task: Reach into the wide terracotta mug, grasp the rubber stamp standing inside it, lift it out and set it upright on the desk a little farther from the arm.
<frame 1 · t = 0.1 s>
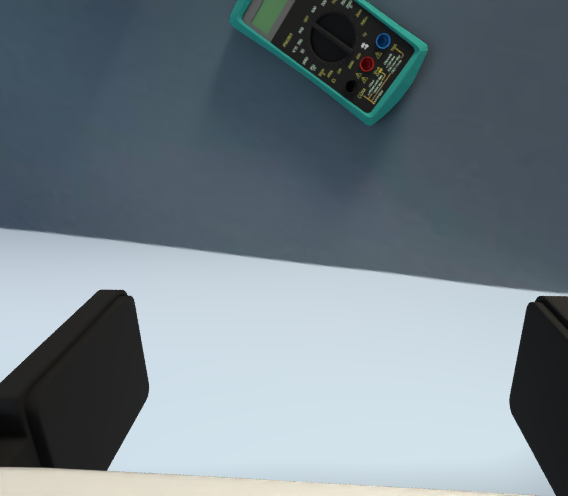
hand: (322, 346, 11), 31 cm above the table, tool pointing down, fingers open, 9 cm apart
digital multimeter: (327, 37, 36), on the table
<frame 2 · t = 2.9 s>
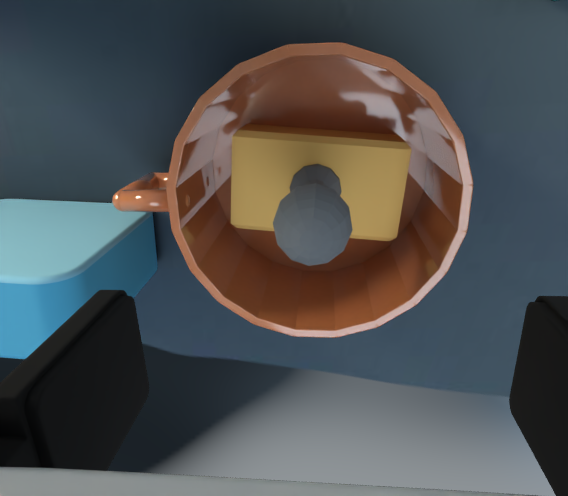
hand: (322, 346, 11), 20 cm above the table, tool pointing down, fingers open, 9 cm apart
terracotta mug: (317, 173, 29), on the table, touching rubber stamp
rubber stamp: (317, 174, 29), resting on terracotta mug
data package: (82, 229, 32), on the table
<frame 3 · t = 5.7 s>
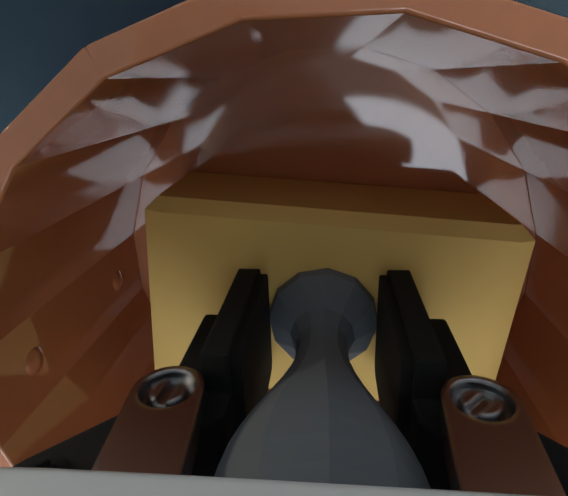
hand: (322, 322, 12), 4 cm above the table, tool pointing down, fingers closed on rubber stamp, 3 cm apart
terracotta mug: (325, 258, 16), on the table, touching rubber stamp
rubber stamp: (325, 259, 16), resting on terracotta mug, touching gripper
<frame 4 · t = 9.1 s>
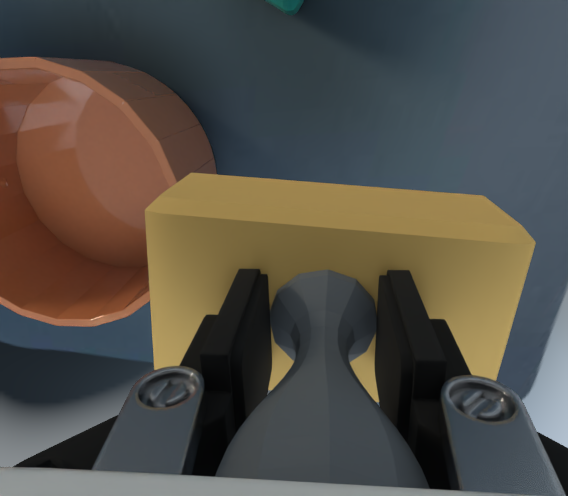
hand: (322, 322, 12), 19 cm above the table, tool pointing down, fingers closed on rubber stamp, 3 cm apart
terracotta mug: (114, 175, 31), on the table
rubber stamp: (325, 260, 16), point 15 cm above the table, touching gripper
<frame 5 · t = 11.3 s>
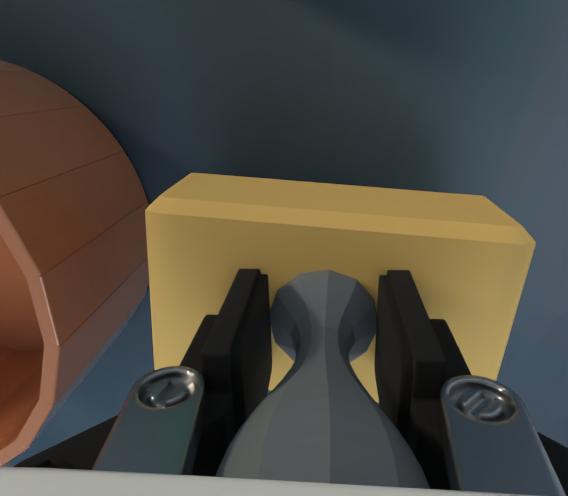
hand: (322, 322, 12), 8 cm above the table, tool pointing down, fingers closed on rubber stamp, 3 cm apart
terracotta mug: (3, 224, 21), on the table
rubber stamp: (325, 260, 16), point 4 cm above the table, touching gripper
when the fingers open (4 cm above the table, at t = 12.6 s): rubber stamp stays where it is, on the table.
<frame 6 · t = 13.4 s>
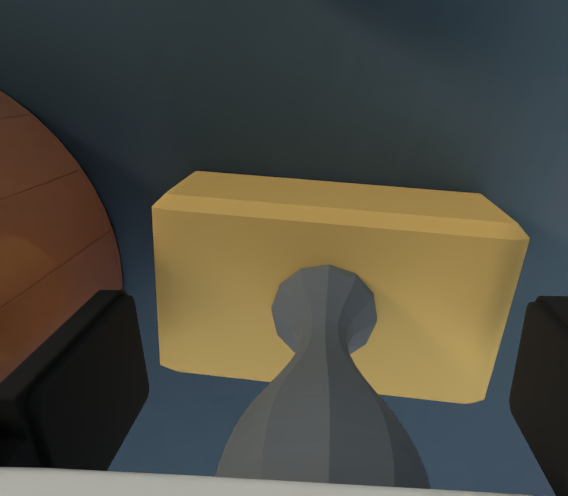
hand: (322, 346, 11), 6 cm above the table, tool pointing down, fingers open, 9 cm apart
rubber stamp: (326, 257, 16), on the table
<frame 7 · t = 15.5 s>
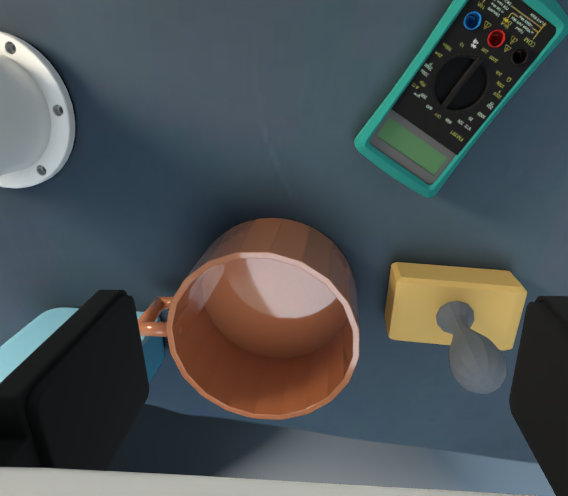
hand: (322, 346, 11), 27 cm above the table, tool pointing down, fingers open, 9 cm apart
terracotta mug: (275, 293, 40), on the table
rubber stamp: (444, 293, 39), on the table
data package: (111, 327, 44), on the table
digital multimeter: (447, 88, 33), on the table
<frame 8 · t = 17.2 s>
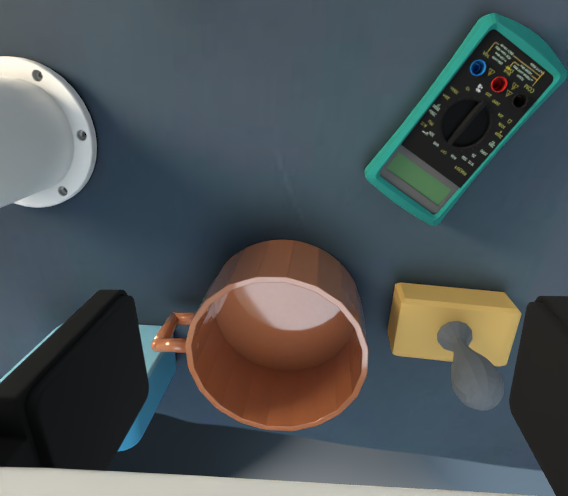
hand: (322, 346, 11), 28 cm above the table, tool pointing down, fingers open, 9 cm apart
terracotta mug: (284, 310, 43), on the table
rubber stamp: (444, 312, 41), on the table
data package: (123, 339, 46), on the table
digital multimeter: (452, 125, 35), on the table
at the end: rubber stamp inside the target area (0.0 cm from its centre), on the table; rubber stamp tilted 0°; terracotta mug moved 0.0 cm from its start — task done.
